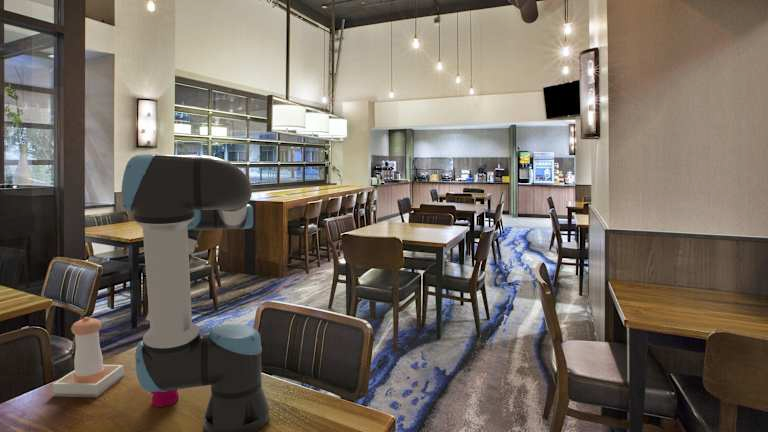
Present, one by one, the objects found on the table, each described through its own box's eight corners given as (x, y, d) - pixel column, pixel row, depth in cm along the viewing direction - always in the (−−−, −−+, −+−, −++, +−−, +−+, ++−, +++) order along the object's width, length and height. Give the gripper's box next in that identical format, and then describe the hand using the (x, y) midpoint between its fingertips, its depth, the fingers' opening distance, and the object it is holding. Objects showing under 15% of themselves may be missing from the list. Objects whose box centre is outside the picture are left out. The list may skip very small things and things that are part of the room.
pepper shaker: (106, 375, 127) (102, 311, 125) (104, 386, 121) (100, 319, 119) (75, 380, 124) (72, 315, 122) (72, 392, 117) (67, 323, 115)
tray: (97, 397, 116) (96, 384, 116) (53, 396, 116) (52, 383, 116) (124, 376, 128) (123, 365, 128) (84, 375, 128) (83, 364, 128)
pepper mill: (158, 411, 110) (155, 335, 108) (145, 402, 114) (141, 328, 112) (185, 400, 116) (183, 327, 114) (172, 391, 120) (169, 321, 118)
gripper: (190, 252, 124) (161, 326, 120) (195, 255, 147) (171, 317, 143) (162, 244, 122) (132, 319, 117) (172, 248, 145) (147, 311, 141)
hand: (154, 318), depth 130 cm, fingers open, 13 cm apart
